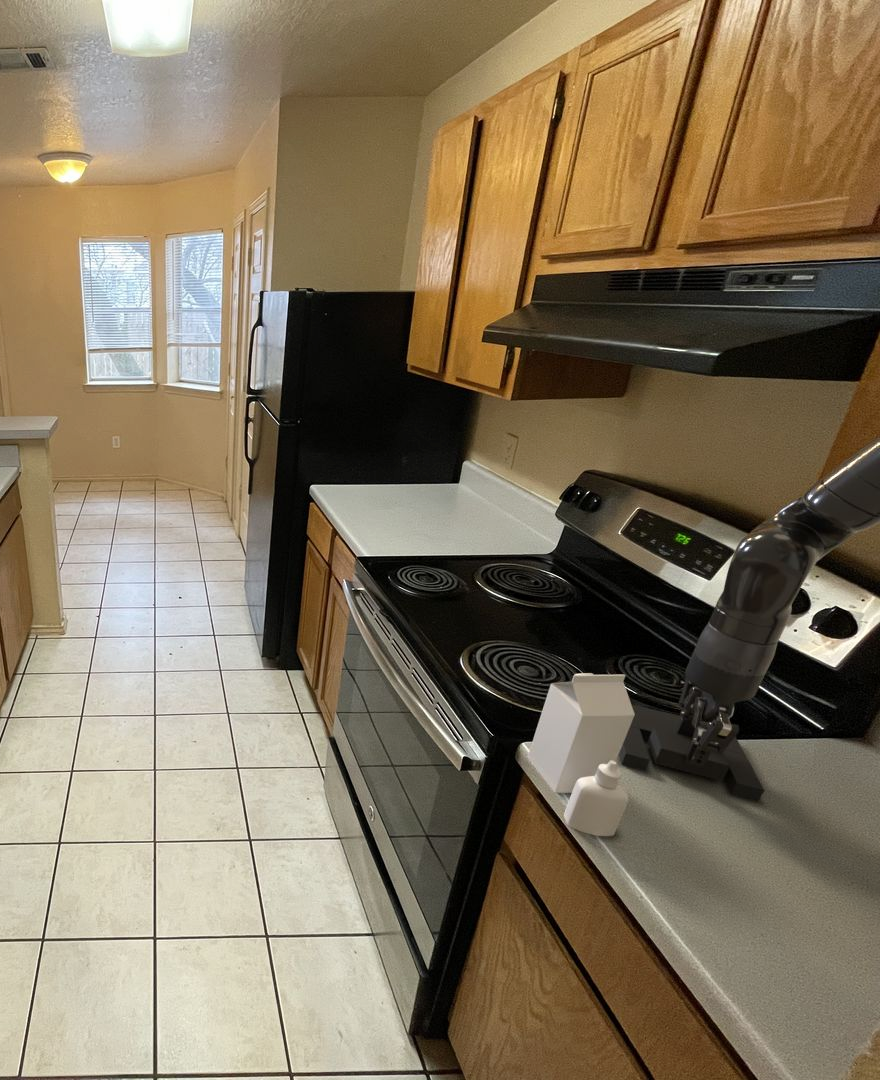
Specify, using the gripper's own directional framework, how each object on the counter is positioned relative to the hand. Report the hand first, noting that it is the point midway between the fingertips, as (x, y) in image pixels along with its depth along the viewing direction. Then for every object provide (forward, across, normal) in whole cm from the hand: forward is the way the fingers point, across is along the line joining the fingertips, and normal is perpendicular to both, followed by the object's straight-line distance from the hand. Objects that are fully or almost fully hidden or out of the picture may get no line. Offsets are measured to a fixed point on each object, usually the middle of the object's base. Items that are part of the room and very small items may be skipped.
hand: (688, 751), depth 89 cm
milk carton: (+4, -10, +16) cm, 19 cm away
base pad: (+4, +3, 0) cm, 5 cm away
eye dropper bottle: (+4, -19, +14) cm, 24 cm away
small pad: (+2, 0, 0) cm, 2 cm away
